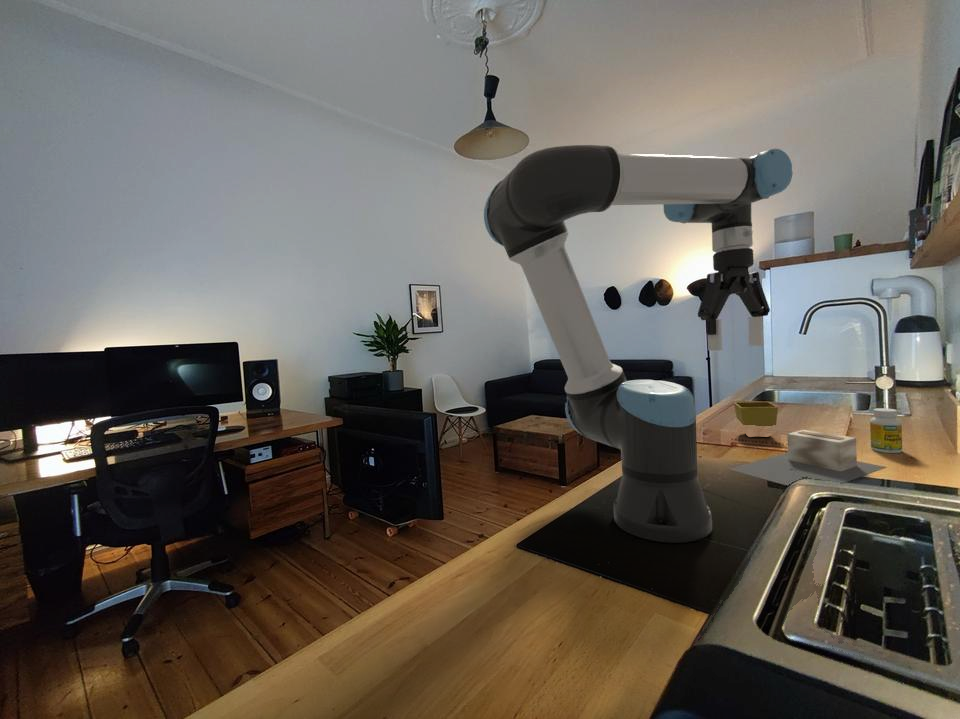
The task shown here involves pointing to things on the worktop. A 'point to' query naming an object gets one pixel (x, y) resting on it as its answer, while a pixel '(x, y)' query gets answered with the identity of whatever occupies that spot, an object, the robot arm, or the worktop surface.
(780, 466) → the mat
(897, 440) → the supplement bottle
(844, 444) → the pale grey rectangular box
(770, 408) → the flower pot
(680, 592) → the worktop surface
